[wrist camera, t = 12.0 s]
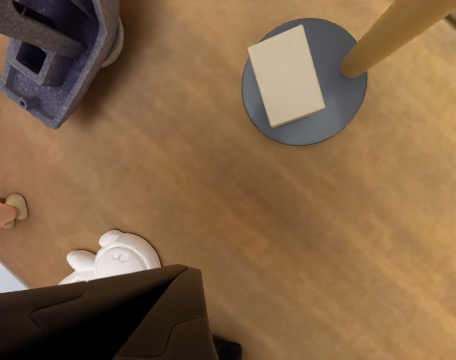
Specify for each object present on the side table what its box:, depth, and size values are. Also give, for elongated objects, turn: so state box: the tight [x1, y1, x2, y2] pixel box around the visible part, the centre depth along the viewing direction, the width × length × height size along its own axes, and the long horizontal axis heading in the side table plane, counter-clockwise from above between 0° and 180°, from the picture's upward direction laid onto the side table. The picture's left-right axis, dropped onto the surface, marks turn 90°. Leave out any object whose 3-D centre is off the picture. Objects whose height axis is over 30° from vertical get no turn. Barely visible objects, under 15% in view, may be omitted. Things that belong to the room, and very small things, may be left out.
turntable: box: [242, 0, 456, 146], centre depth 12 cm, size 8×8×14 cm
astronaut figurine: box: [58, 230, 161, 285], centre depth 24 cm, size 9×12×3 cm
